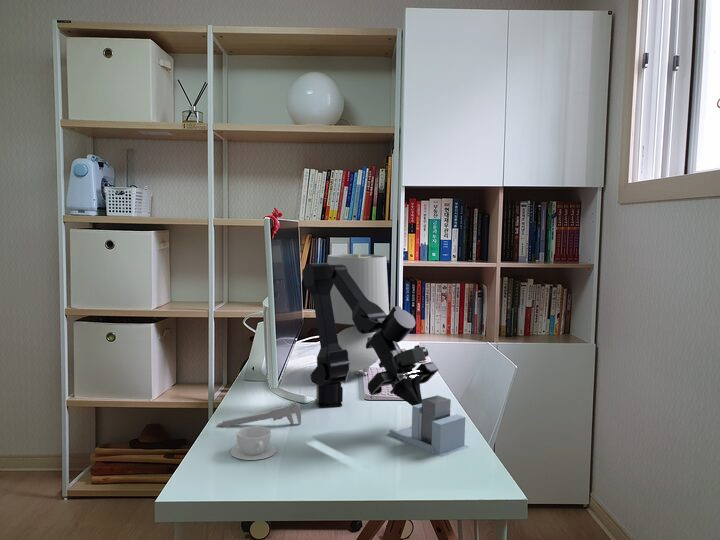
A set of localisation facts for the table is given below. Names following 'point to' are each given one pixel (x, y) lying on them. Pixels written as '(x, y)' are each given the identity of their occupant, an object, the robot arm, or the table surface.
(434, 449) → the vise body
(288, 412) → the caliper
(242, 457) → the teacup
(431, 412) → the block
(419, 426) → the free jaw
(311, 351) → the table surface
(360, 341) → the table lamp
